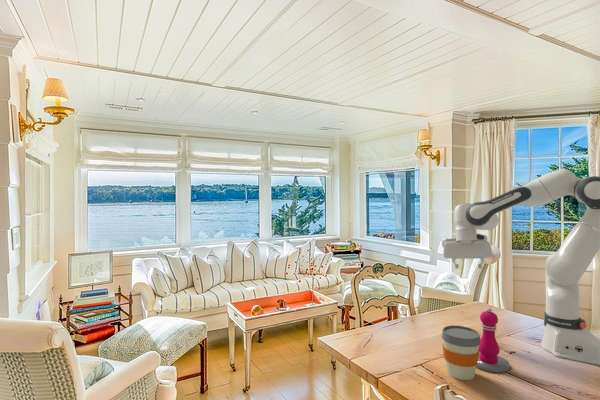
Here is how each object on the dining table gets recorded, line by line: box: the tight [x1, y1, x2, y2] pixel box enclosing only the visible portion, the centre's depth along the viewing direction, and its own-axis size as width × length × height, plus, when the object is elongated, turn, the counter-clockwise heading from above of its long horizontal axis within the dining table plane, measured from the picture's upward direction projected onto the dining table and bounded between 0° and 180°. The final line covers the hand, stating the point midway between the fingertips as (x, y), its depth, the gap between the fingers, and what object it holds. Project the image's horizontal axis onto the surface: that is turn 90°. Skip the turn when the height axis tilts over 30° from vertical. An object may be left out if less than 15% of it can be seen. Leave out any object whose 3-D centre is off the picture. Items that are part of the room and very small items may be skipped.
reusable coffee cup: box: [441, 324, 481, 381], centre depth 126 cm, size 13×13×15 cm
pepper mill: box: [479, 307, 500, 364], centre depth 133 cm, size 7×7×20 cm
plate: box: [476, 352, 511, 374], centre depth 133 cm, size 14×14×1 cm
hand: (468, 268), depth 159 cm, fingers open, 8 cm apart
